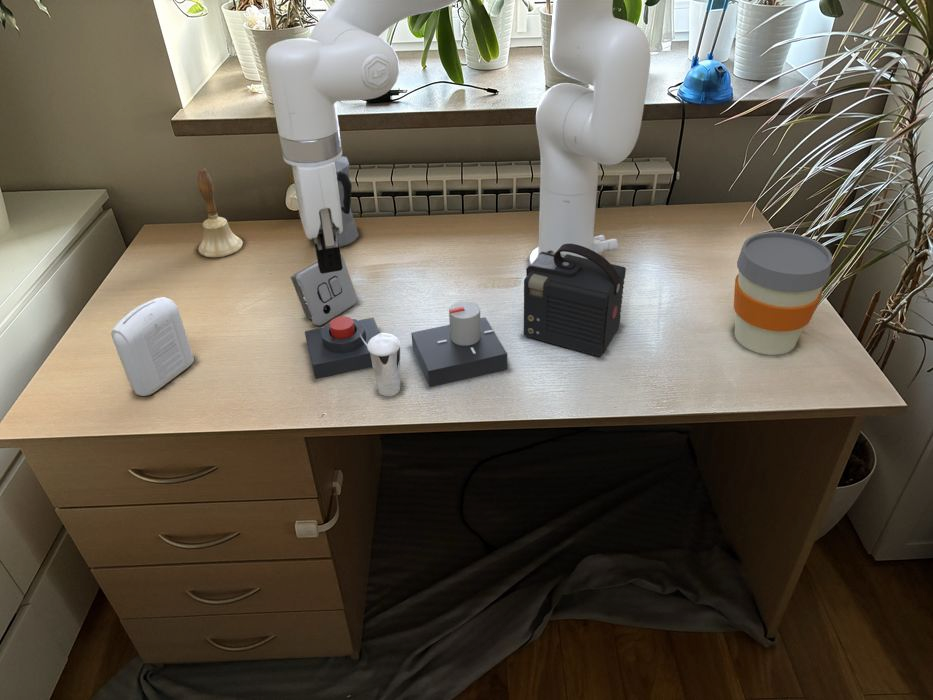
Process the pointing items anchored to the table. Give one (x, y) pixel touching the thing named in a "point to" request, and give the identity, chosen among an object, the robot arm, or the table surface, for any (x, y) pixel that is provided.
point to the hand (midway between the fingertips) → (330, 269)
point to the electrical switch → (324, 292)
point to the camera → (573, 299)
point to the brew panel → (457, 355)
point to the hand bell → (215, 224)
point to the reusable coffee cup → (778, 289)
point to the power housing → (340, 349)
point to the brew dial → (465, 323)
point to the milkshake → (385, 362)
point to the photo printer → (152, 345)
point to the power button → (342, 327)
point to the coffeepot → (345, 203)
